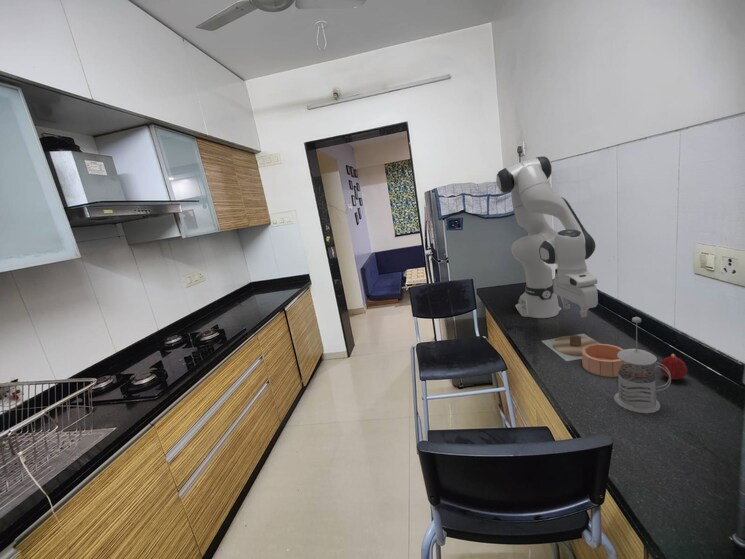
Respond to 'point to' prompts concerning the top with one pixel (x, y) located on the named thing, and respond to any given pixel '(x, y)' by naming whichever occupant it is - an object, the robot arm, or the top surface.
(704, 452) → the top surface
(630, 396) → the french press
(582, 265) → the robot arm
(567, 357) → the mat
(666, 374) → the pomegranate
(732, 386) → the top surface
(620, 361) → the bowl
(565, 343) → the lid
